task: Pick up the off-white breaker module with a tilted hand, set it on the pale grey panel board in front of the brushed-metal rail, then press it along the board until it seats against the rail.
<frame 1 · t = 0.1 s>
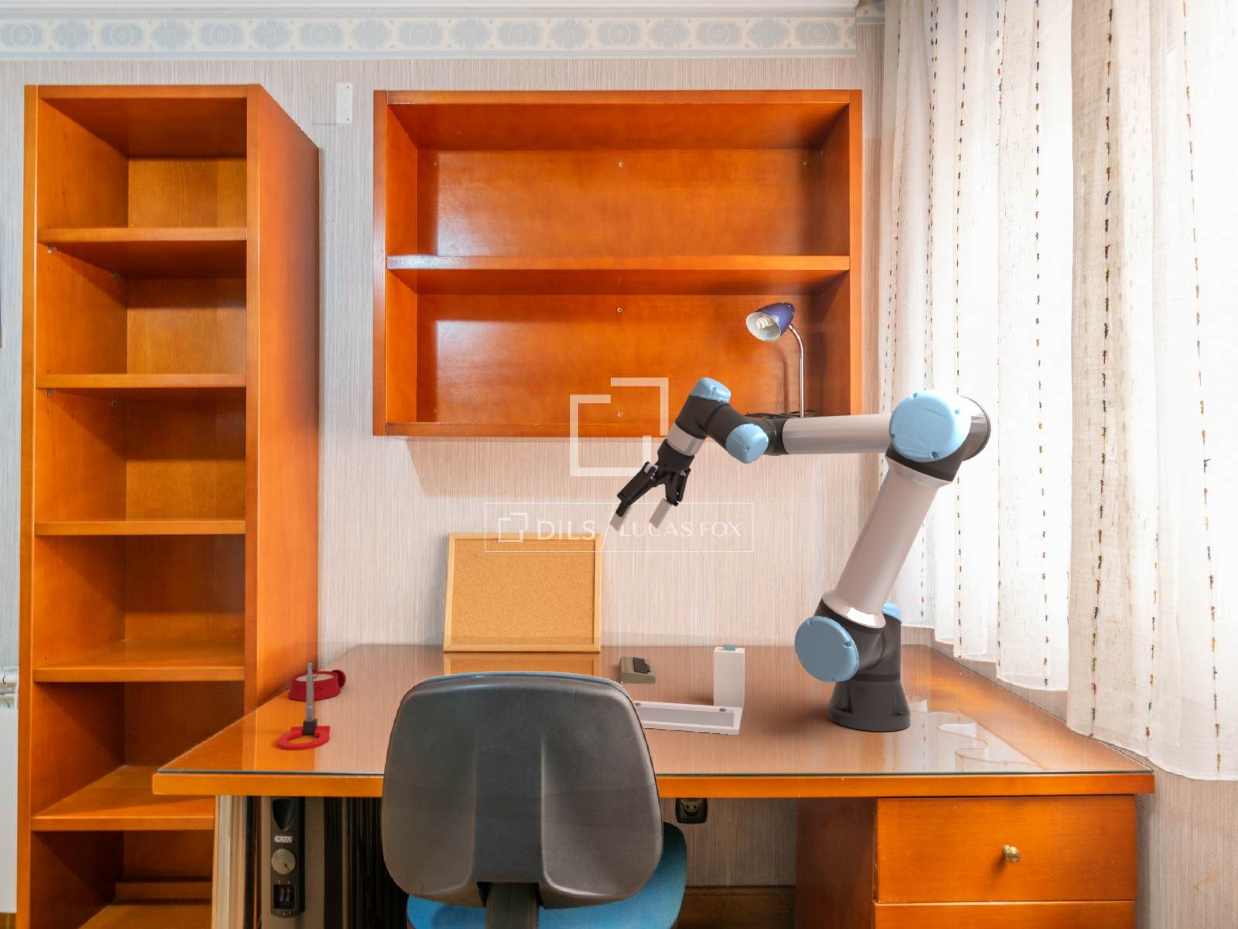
hand: (634, 526, 173), 36 cm above the table, tool tilted 35°, fingers open, 13 cm apart
panel board: (682, 719, 150), on the table
computer: (636, 677, 185), on the table
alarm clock: (317, 694, 168), on the table
module: (729, 703, 161), on the table
tow hook: (304, 743, 137), on the table
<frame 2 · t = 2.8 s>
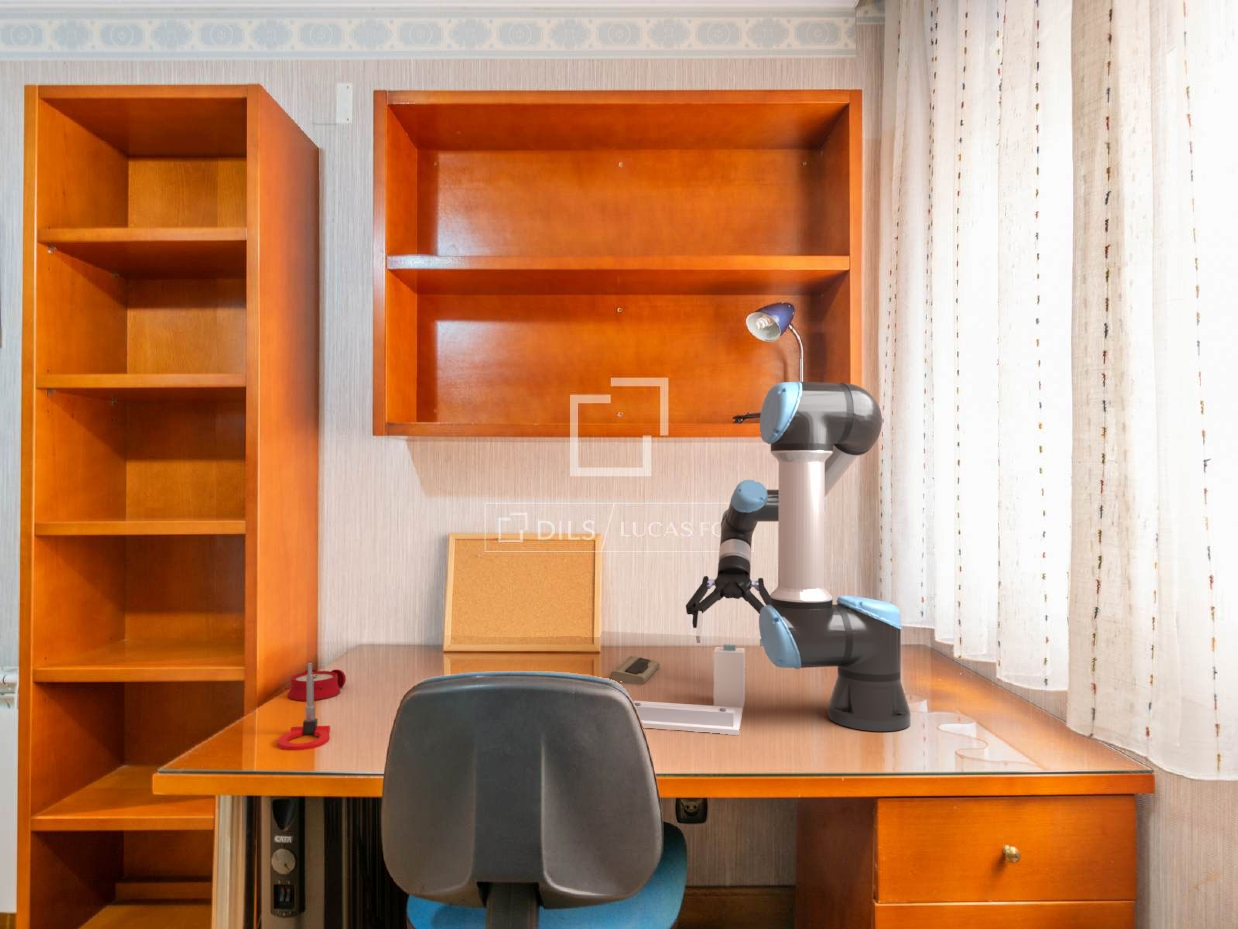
hand: (729, 641, 169), 11 cm above the table, tool tilted 45°, fingers open, 13 cm apart
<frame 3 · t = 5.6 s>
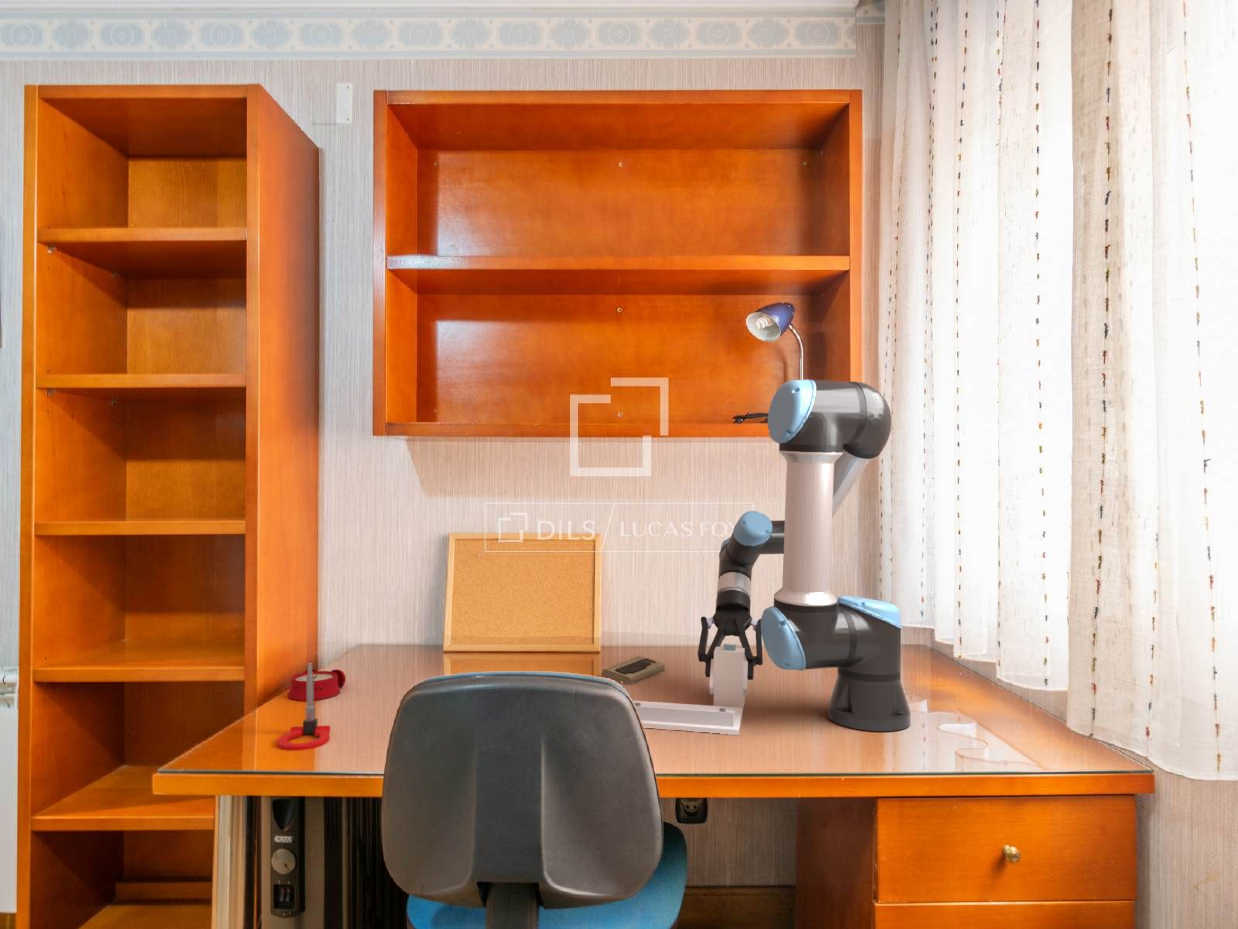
hand: (728, 691, 158), 3 cm above the table, tool tilted 45°, fingers closed on module, 6 cm apart
module: (729, 703, 161), on the table, touching gripper
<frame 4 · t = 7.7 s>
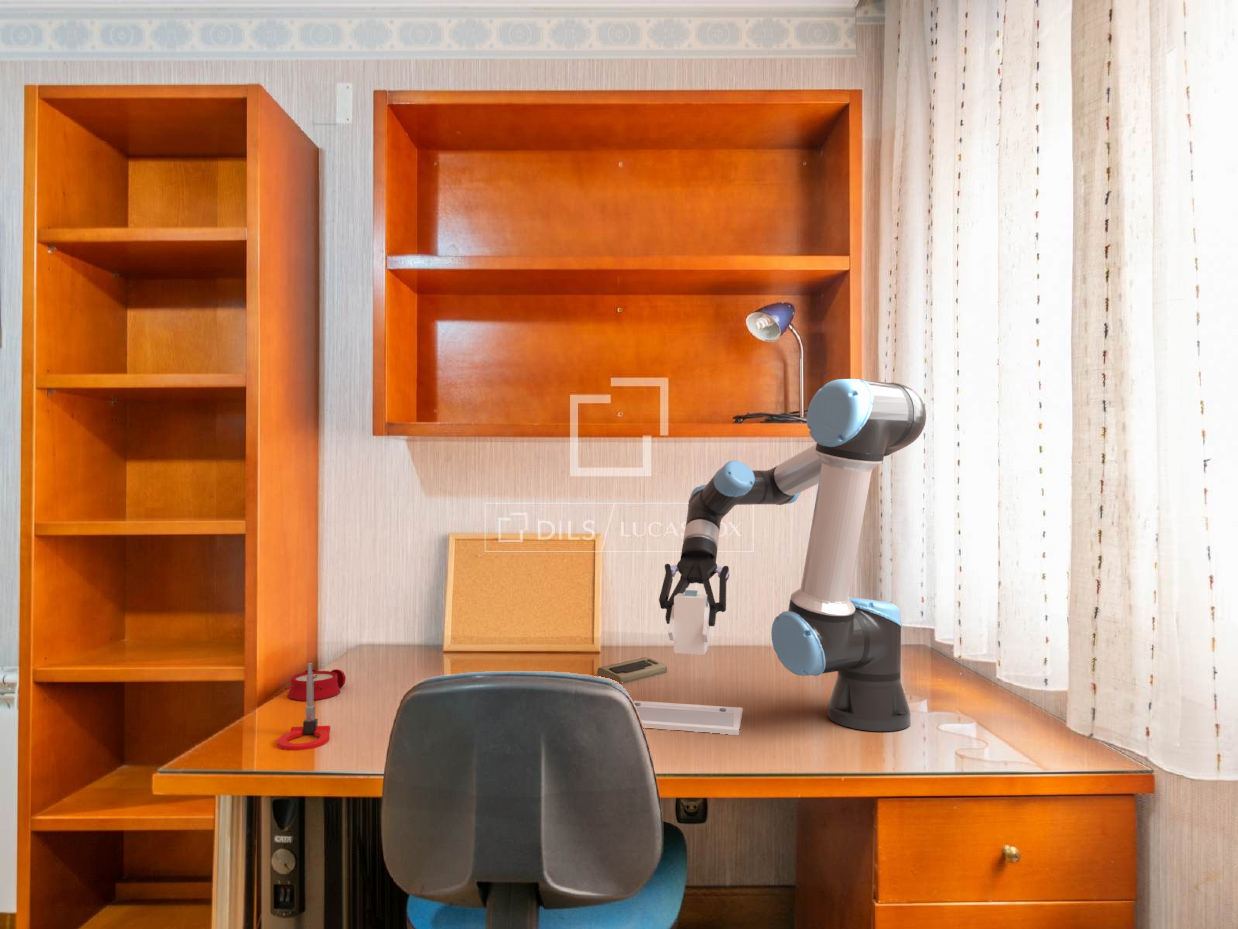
hand: (687, 637, 153), 15 cm above the table, tool tilted 45°, fingers closed on module, 6 cm apart
module: (690, 651, 156), point 12 cm above the table, touching gripper
when the fingers open (5 cm above the table, at t = 10.1 s): module stays where it is, resting on panel board.
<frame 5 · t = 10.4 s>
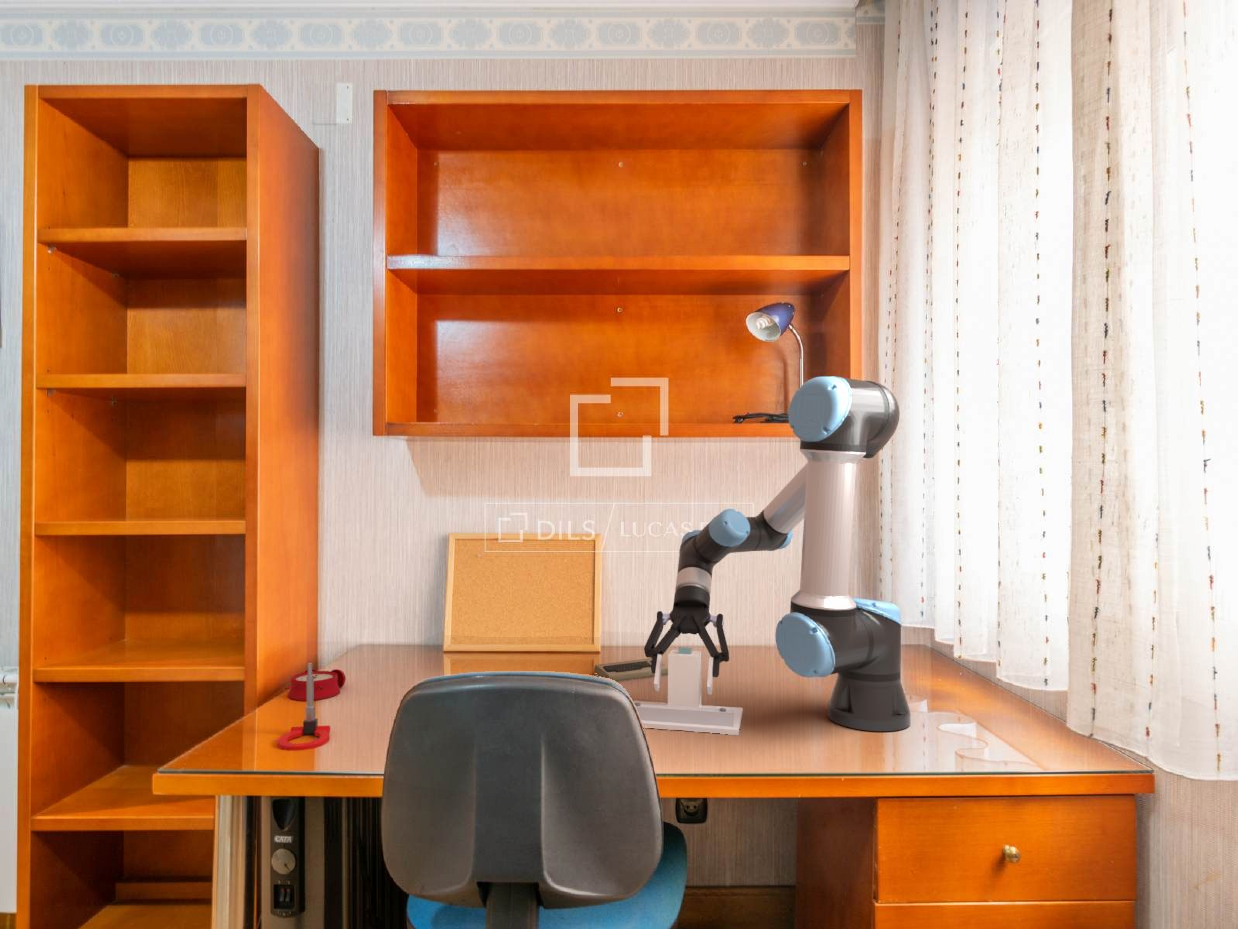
hand: (682, 689, 150), 6 cm above the table, tool tilted 45°, fingers open, 9 cm apart
module: (684, 709, 153), point 1 cm above the table, touching panel board
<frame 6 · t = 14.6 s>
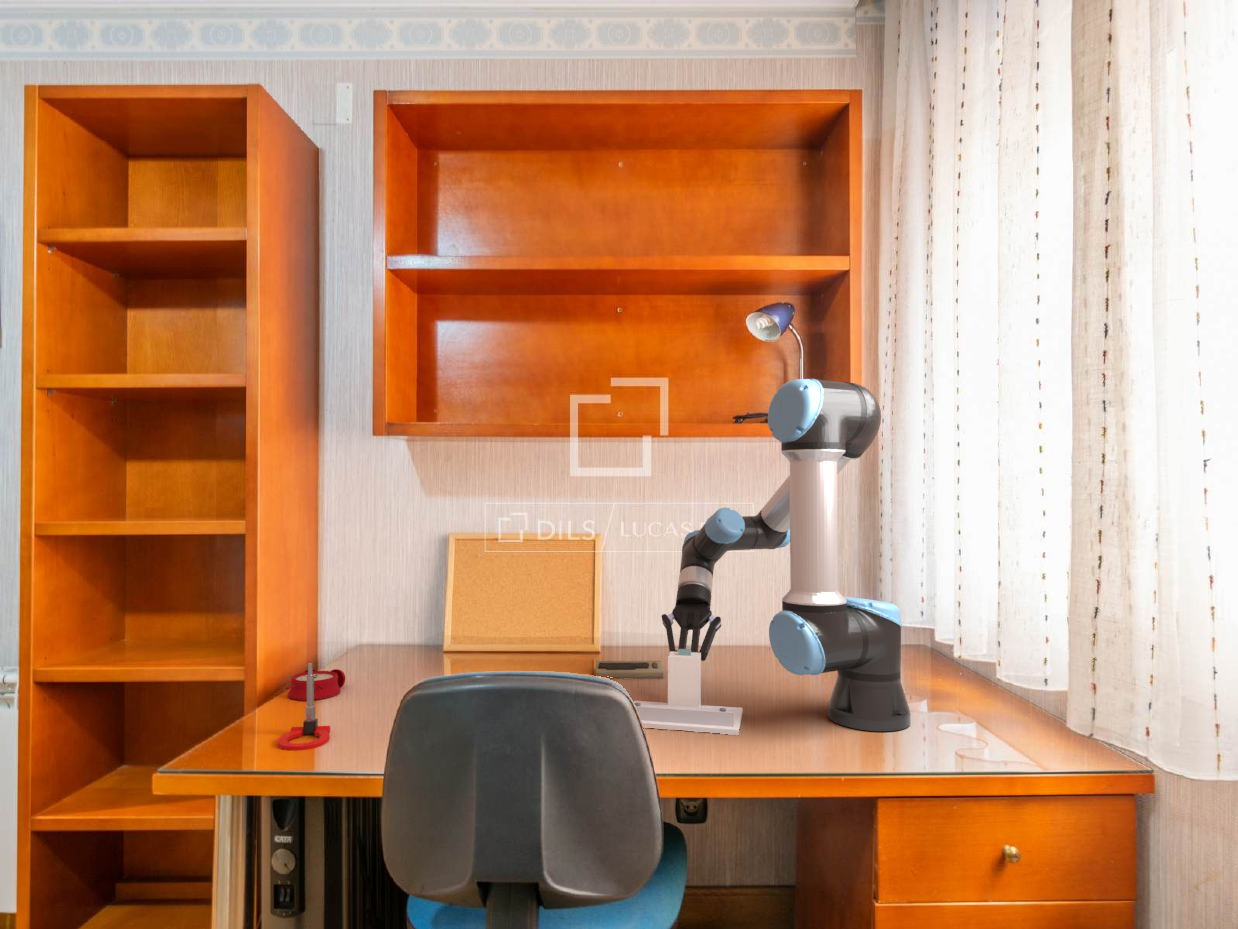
hand: (684, 688, 156), 5 cm above the table, tool tilted 45°, fingers closed
module: (684, 711, 152), point 1 cm above the table, touching gripper
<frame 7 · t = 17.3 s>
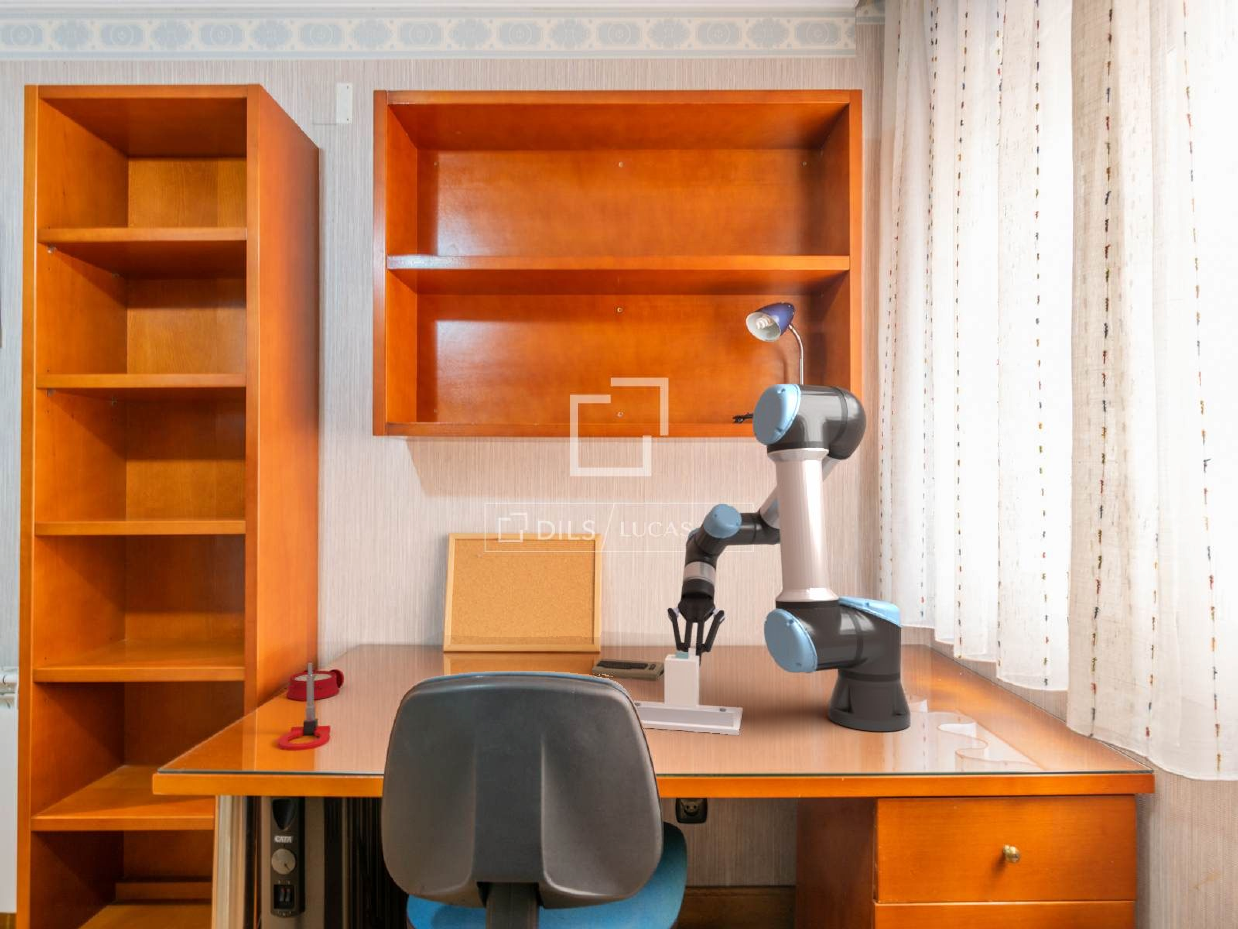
hand: (690, 678, 163), 5 cm above the table, tool tilted 45°, fingers closed
module: (681, 715, 149), point 1 cm above the table, touching panel board
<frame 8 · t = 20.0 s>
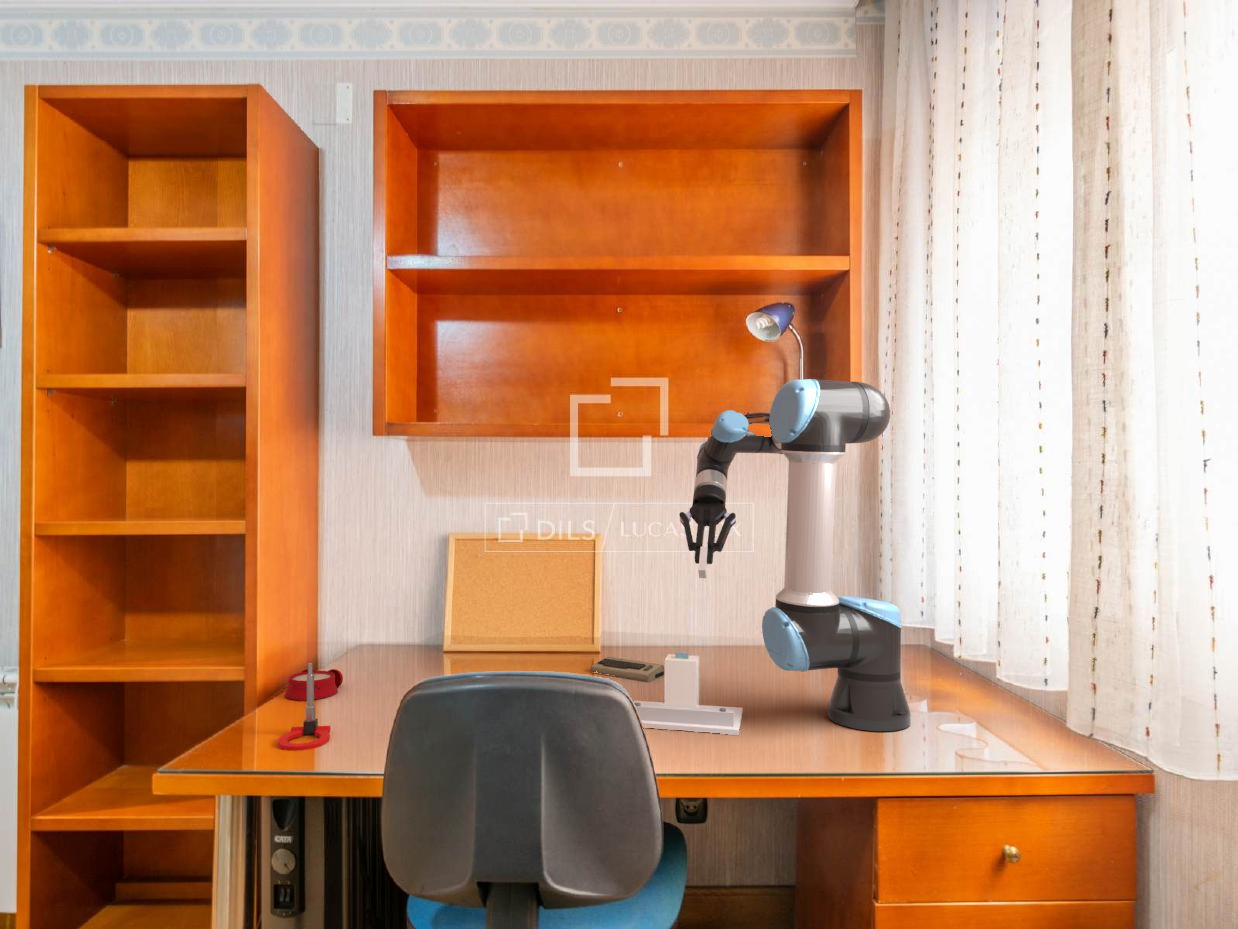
hand: (702, 574, 166), 26 cm above the table, tool tilted 45°, fingers closed
at the end: module 0.7 cm from the target spot, point 1.0 cm above the table; module tilted 0°; the gripper is holding nothing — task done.
